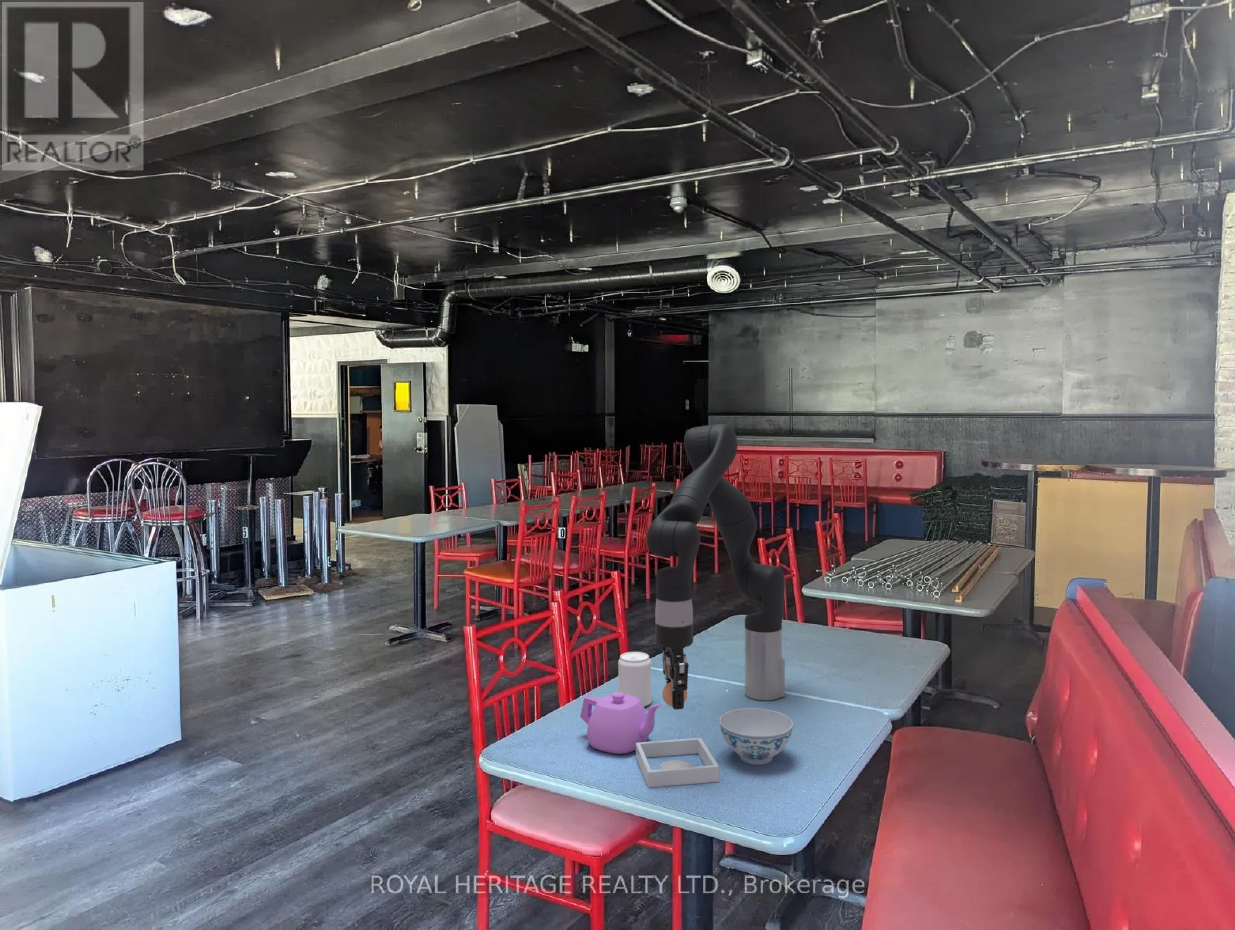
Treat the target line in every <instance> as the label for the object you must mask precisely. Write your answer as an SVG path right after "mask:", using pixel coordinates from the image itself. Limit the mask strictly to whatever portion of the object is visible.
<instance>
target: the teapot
mask: <svg viewBox="0 0 1235 930" xmlns="http://www.w3.org/2000/svg"><path fill="white" fill-rule="evenodd" d="M582 702H583V703H582V706H581V707H582V708H581V712H580V719H582V720H583V721H584V722H585V724H586V725H587V728H586V729H587V730H586V739H587V741H588V742H589V744H590V745H591V746H592V748H593V749H596V750H599V751H601V752H606V753H609V754H610V753H611V754H617V755H618V754H619V755H622V754H629V753H631V752H634V751H636V743H639V742H647V739H648V738H649V736H650V735H651V734H652V733H653V731H654V728H655V721H656V720H655V715H656V711H657V710H658V708H660V707H661V706H662V704H660V703H659V704H652V705H650V706H649V708H648V710H646V709H645V707H644V706H643V704H642V702H641V701H640V699H639V698H637V697H633V696H629V695H625V694H624V693H621V692H619V691H618V692H617V691H616V692H612V694H609V695H605V696H603V697H602V698H599V697H595V696H592V695H588V694H587V695H586V696H585V697H584V698H583V701H582ZM593 706H594V707H593Z"/></svg>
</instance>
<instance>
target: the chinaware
mask: <svg viewBox="0 0 1235 930" xmlns="http://www.w3.org/2000/svg"><path fill="white" fill-rule="evenodd" d="M718 722H719V727H720V731H721V734H722V736H723V739H724V740H725V742H726V744H727V745H728V746H729V748H730V749H731V750H732V751H734V752H735V753H736V754H737V755H739V758H740V760H741V761H743V762H744V763H746V764H749V765H765V764H768V763H769V764H770V762H772V761H773V757H775V756H777V755H778V754H780V752H782V751H783V750H784V748H785V747H786V745H787V744H788V742H789V740H790V739H791V736H792V732H793V728H794V722H793V720H792V719H791V718H790V717H789V716H787V715H786V714H784V713H782V712H779V711H776V710H773V709H766V708H758V707H745V708H743V707H742V708H738V709H733V710H729V711H727V712H725V713H723V714H722V715H721V716H720V718H719V720H718Z"/></svg>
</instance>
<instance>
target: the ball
mask: <svg viewBox="0 0 1235 930" xmlns="http://www.w3.org/2000/svg"><path fill="white" fill-rule="evenodd" d="M678 684H681V681H678ZM671 687H672V684H671V682H669V683H668V684H666V683H665V685H664V686H663V689H662V692H661V693H662V699H663V702H664V703H665V704H666V705H668V707H672V689H671ZM687 699H688V689H687V690H684V704H685V702H686V701H687ZM672 708H673V707H672Z"/></svg>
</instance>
